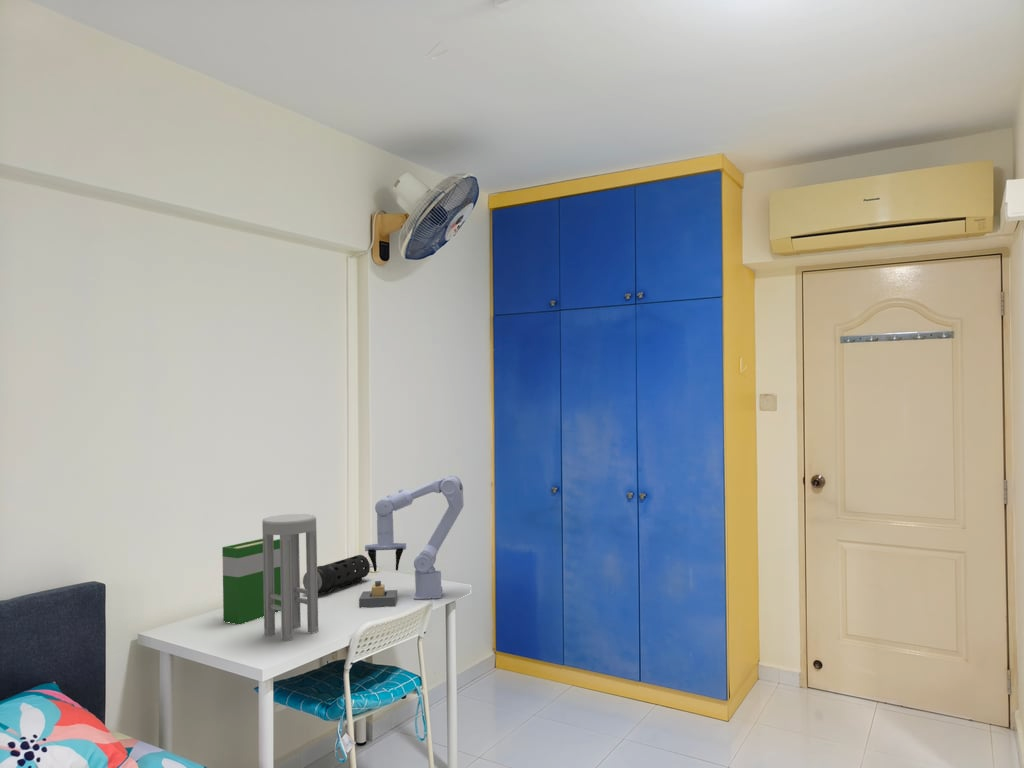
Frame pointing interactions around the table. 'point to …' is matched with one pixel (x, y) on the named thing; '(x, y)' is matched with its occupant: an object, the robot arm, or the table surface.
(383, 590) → the plug
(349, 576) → the muzzle brake
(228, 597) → the hardback book
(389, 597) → the socket housing
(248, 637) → the table surface
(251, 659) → the table surface
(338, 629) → the table surface
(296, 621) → the stool
